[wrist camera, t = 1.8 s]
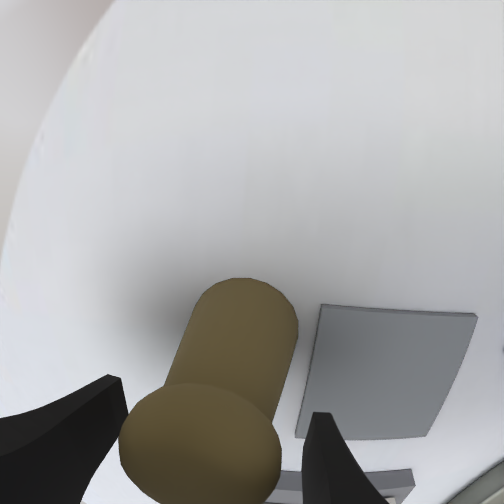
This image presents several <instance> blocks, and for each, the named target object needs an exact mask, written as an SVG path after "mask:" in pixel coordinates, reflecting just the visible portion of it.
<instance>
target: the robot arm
mask: <svg viewBox="0 0 504 504" xmlns="http://www.w3.org/2000/svg"><path fill="white" fill-rule="evenodd" d="M128 415H129V414H128V409H127V405H126V400H125V396H124V391H123V386H122V381H121V378H119V377H116V376H112V375H109V374H107V375H105V376H103V377H101V378H99V379H97V380H96V381H94V382H92V383H90V384H88V385H86V386H84V387H83V388H81V389H79V390H77V391H75V392H73V393H71V394H69V395H67V396H65V397H63V398H61V399H59V400H56V401H54V402H52V403H50V404H47V405H45V406H43V407H40V408H37V409H34V410H31V411H28V412H25V413H22V414H18V415H13V416H9V417H4V418H0V504H80V502H81V500H82V497H83V495H84V493H85V491H86V489H87V487H88V484H89V482H90V480H91V478H92V477H93V475H94V473H95V471H96V470H97V468H98V467H99V465H100V464H101V462H102V461H103V459H104V458H105V456H106V455H107V453H108V452H109V450H110V449H111V447H112V446H113V444H114V443H115V441H116V440H117V438H118V437H119V434H120V431H121V427H122V425H123V423H124V421H125V420H126V418H127V416H128ZM301 472H302V495H303V504H389V503H388V501H387V500H386V499H385V498H384V497H383V496H382V495H381V494H380V493H379V492H378V490H377V489H376V488H375V487H374V486H373V484H372V483H371V482H370V480H369V479H368V478H367V476H366V475H365V473H364V472H363V471H362V469H361V468H360V466H359V465H358V463H357V462H356V460H355V458H354V457H353V455H352V453H351V452H350V450H349V448H348V446H347V445H346V443H345V441H344V439H343V437H342V435H341V433H340V431H339V429H338V427H337V425H336V422H335V420H334V418H333V415H332V414H331V413H330V412H313V414H312V418H311V421H310V425H309V429H308V432H307V436H306V439H305V442H304V446H303V456H302V470H301Z"/></svg>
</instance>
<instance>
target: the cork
mask: <svg viewBox="0 0 504 504" xmlns="http://www.w3.org/2000/svg"><path fill="white" fill-rule="evenodd" d="M297 339H298V319H297V317H296V314H295V311H294V308H293V306H292V305H291V304H290V302H289V301H288V300H287V299H286V297H285V296H284V295H283V294H282V293H281V292H280V291H278V290H277V289H275V288H274V287H272V286H270V285H269V284H267V283H264V282H261V281H258V280H254V279H251V278H231V279H228V280H225V281H222V282H219V283H216V284H215V285H213V286H212V287H211V288H209V289H208V290H207V291H205V292H204V293H203V294H202V296H201V297H200V299H199V300H198V302H197V304H196V305H195V307H194V310H193V312H192V315H191V317H190V320H189V322H188V325H187V327H186V330H185V332H184V335H183V337H182V340H181V343H180V345H179V348H178V350H177V353H176V355H175V358H174V361H173V363H172V366H171V368H170V371H169V374H168V376H167V379H166V381H165V384H164V386H163V387H161V388H159V389H157V390H156V391H154V392H152V393H150V394H148V395H147V396H146V397H144V398H143V399H142V400H140V401H139V402H137V404H136V405H135V406H134V408H133V409H132V411H131V412H130V413H129V415H128V416H127V418H126V420H125V421H124V423H123V425H122V427H121V431H120V434H119V438H118V443H119V455H120V462H121V466H122V467H123V469H124V471H125V473H126V474H127V476H128V477H129V478H130V480H131V481H132V482H133V483H134V484H135V485H136V486H137V487H138V488H139V489H140V490H141V491H142V492H143V493H145V494H146V495H147V496H149V497H150V498H152V499H153V500H155V501H156V502H158V503H160V504H263V503H264V502H265V501H266V500H267V499H268V498H269V496H270V495H271V494H272V492H273V491H274V490H275V488H276V485H277V483H278V481H279V479H280V476H281V459H282V448H281V444H280V441H279V437H278V434H277V432H276V431H275V429H274V427H273V425H272V421H273V418H274V415H275V412H276V409H277V406H278V403H279V400H280V396H281V393H282V390H283V387H284V383H285V380H286V377H287V374H288V370H289V367H290V363H291V360H292V356H293V353H294V349H295V346H296V342H297Z"/></svg>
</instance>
